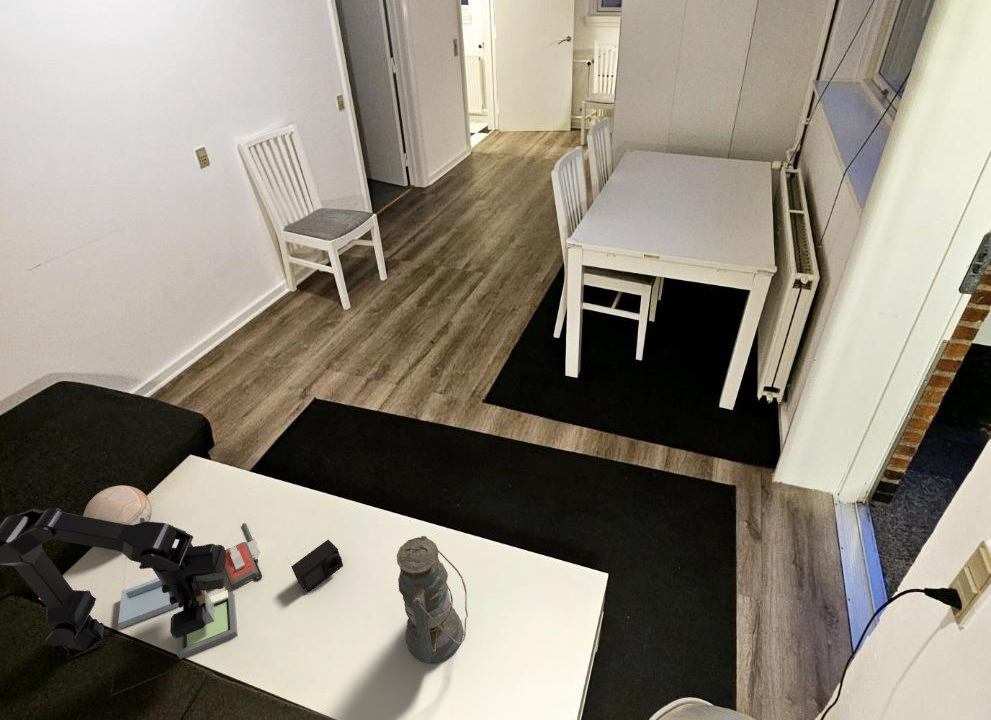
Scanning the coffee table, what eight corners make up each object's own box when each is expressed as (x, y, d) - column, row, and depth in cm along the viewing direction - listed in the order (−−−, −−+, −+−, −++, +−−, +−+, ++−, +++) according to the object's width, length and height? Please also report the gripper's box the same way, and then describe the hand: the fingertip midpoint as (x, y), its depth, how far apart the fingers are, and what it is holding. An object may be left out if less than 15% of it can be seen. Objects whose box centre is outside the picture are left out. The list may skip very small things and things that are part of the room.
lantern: (410, 595, 133) (390, 511, 116) (471, 592, 133) (459, 508, 116) (401, 681, 118) (375, 598, 100) (469, 678, 117) (456, 595, 100)
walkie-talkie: (271, 576, 140) (249, 524, 154) (266, 566, 138) (244, 514, 151) (235, 596, 136) (215, 541, 150) (229, 585, 134) (210, 530, 147)
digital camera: (309, 597, 135) (302, 579, 131) (298, 583, 138) (290, 566, 134) (346, 568, 141) (340, 551, 136) (334, 556, 144) (328, 538, 140)
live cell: (192, 630, 125) (182, 613, 121) (192, 612, 128) (182, 596, 125) (214, 621, 126) (204, 605, 123) (213, 604, 130) (204, 588, 126)
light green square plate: (188, 648, 125) (186, 646, 125) (188, 619, 131) (186, 617, 130) (229, 631, 128) (228, 629, 127) (227, 603, 134) (226, 601, 133)
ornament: (96, 529, 155) (69, 492, 146) (155, 502, 162) (132, 465, 153) (103, 566, 145) (74, 529, 136) (165, 536, 152) (142, 498, 143)
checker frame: (181, 660, 124) (176, 654, 122) (181, 615, 132) (177, 609, 131) (238, 636, 127) (234, 630, 126) (235, 594, 136) (231, 588, 135)
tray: (123, 629, 130) (118, 623, 129) (126, 597, 137) (121, 591, 136) (183, 606, 134) (179, 600, 133) (183, 575, 141) (180, 569, 140)
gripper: (218, 593, 113) (242, 635, 122) (214, 526, 127) (236, 567, 136) (157, 617, 110) (187, 658, 119) (160, 544, 124) (186, 586, 133)
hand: (201, 614), depth 127 cm, fingers closed on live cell, 4 cm apart
